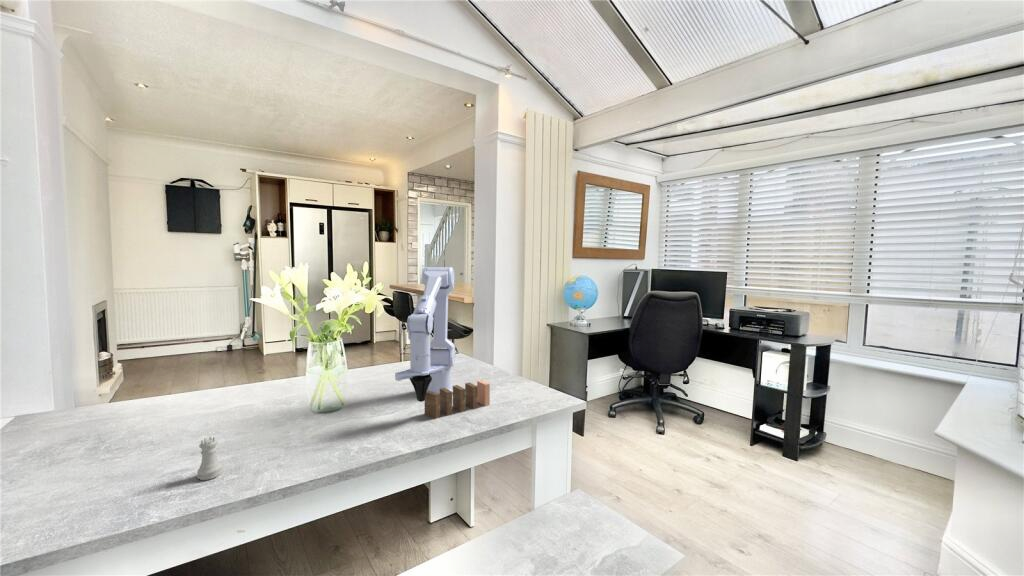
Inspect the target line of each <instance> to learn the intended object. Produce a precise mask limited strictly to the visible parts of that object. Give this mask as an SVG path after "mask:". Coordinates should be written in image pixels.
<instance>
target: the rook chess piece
mask: <svg viewBox="0 0 1024 576" xmlns="http://www.w3.org/2000/svg"><path fill="white" fill-rule="evenodd" d="M218 443H219V441H218V440H216V437H215V436H214V437H213V436H209V438H208V437H206V438H203V439H201V441H200V444H199V448H200V449H201V451H200V454H201V463H200V465H199V468H198V469H197V476H196V478H197V479H198V480H199V479H200V480H199V481H210V480H212V479H213V478H214V479H216V478H217V476H218V477H219V476H220V475H221V474H222V473H223V469H222V467H223V466H222V463H220V460H219V461H218V457H217V450H218V449H217V447H216V446H217V445H218ZM215 477H216V478H215ZM209 479H210V480H209Z"/></svg>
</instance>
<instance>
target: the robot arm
mask: <svg viewBox="0 0 1024 576" xmlns="http://www.w3.org/2000/svg"><path fill="white" fill-rule="evenodd" d="M422 282H423V285H424V290H423V295H421V296H420V297H419V298H418V300H417V302H416V305H415V306H414V309H413V313H411V315H408V317H407V320H406V331H407V334H408V335H407V336H408V340H409V350H410V351H409V353H410V354H409V355H410V356H409V357H410V359H409V362H410V363H409V364H410V368H409V369H406V370H401V371H398V372H395V373H394V379H395V381H397V382H401V381H403V380H410V382H411V385H412V386H413V390H414V391H415V396H416V400H417V401H418V402H419V403H420V402H421V403H423V402H425V395H426V392H427V391H432V392H435V393H438V394H440V388H446V389H448V390H450V391H452V394H453V388H452V375H451V373H452V369H451V368H453V367H454V366H455V363H456V359H457V358H456V357H457V356H456V354H457V353H456V346H455V344H454V343H453V342H452V341H450V340H449V338H448V324H449V323H448V321H449V320H448V318H449V316H448V315H449V296H450V293H451V292H453V291H454V290H455V289H454V288H455V270H454V268H453V267H452V266H449V267H446V266H445V267H444V266H443V267H442V266H439V267H438V266H437V267H436V266H435V267H434V266H430V267H429V266H425V267H424V268H423V269H422ZM432 331H433V340H431V333H432Z"/></svg>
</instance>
